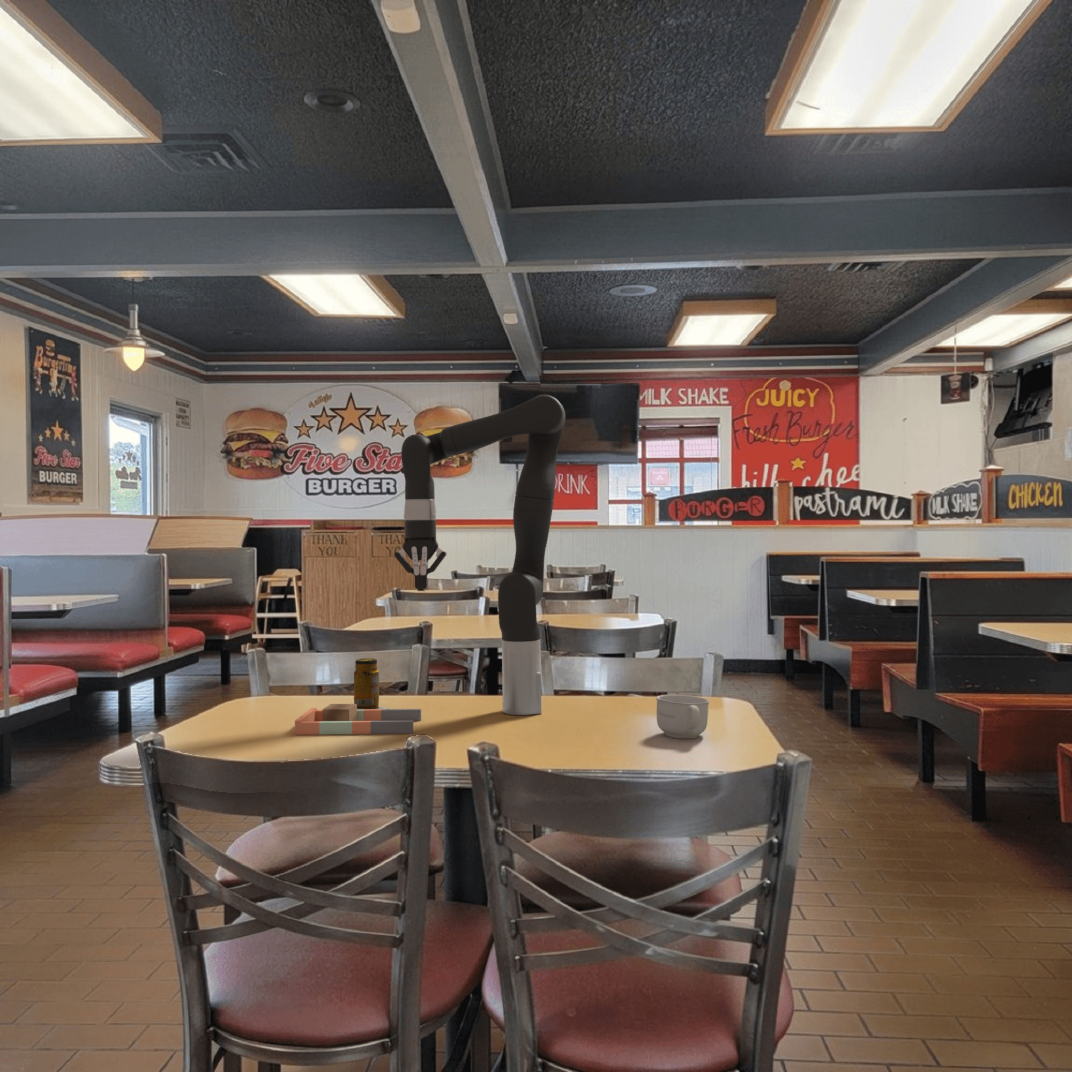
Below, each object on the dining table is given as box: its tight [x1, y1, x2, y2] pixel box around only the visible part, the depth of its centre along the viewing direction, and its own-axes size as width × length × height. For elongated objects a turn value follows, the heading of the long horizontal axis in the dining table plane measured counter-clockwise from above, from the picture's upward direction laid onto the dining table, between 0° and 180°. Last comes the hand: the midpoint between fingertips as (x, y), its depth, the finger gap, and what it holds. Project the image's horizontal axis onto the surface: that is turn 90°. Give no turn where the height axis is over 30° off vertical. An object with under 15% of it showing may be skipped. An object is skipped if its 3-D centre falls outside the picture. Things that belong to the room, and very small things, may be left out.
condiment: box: [353, 657, 390, 709], centre depth 209 cm, size 7×8×12 cm
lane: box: [294, 707, 422, 736], centre depth 189 cm, size 25×13×3 cm, turn 90°
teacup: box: [655, 694, 710, 739], centre depth 176 cm, size 14×11×8 cm
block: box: [321, 703, 357, 721], centre depth 191 cm, size 6×6×4 cm
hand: (421, 590), depth 205 cm, fingers closed
